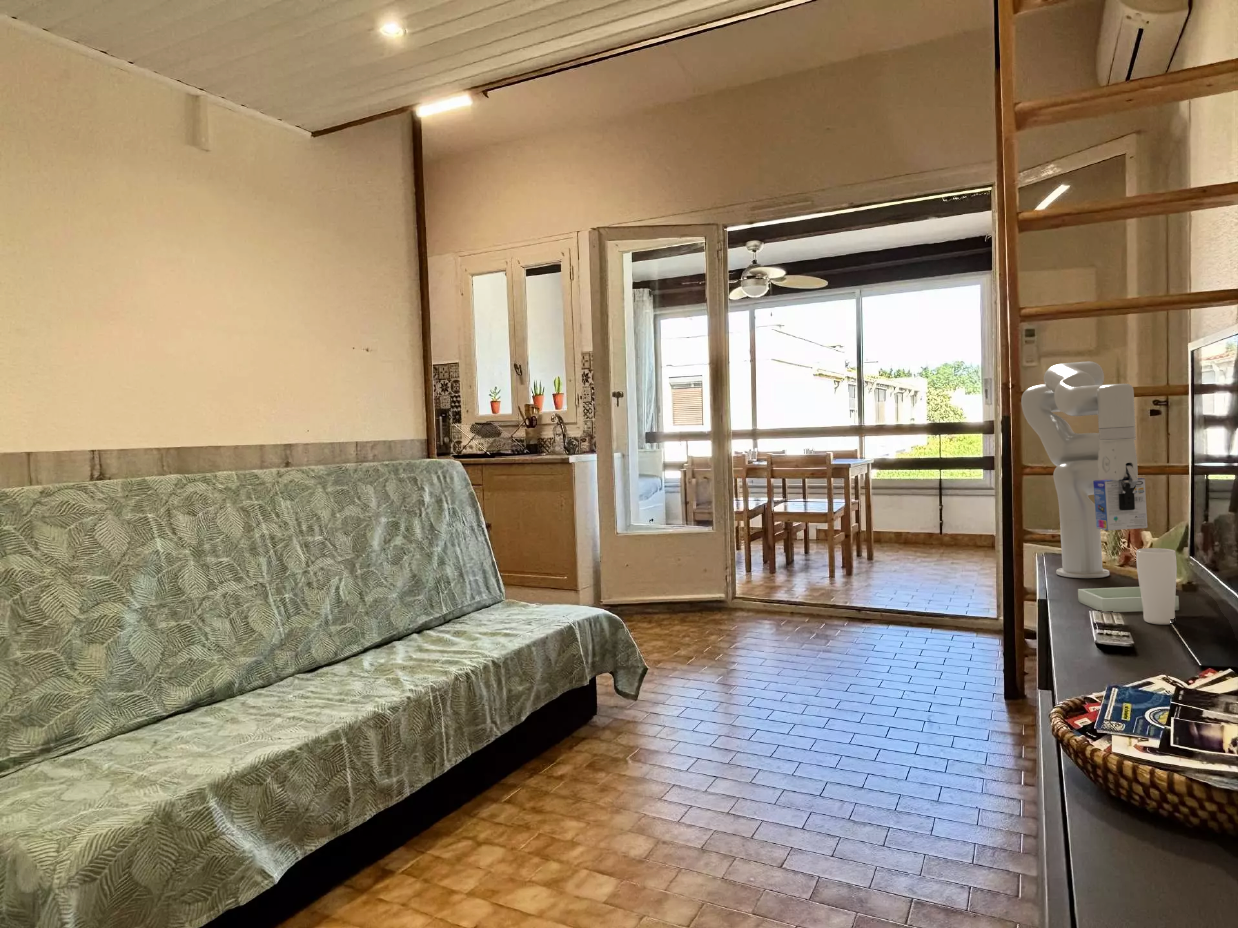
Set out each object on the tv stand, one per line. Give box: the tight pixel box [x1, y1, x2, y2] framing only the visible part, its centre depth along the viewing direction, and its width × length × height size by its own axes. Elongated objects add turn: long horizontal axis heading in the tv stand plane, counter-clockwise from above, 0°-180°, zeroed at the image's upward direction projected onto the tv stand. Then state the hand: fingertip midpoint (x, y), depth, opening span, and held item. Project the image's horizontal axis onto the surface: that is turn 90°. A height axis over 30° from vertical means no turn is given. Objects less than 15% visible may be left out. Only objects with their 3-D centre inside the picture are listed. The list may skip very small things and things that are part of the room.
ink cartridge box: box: [1093, 477, 1148, 531], centre depth 187 cm, size 10×6×14 cm, turn 89°
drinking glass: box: [1135, 547, 1178, 626], centre depth 159 cm, size 7×7×15 cm
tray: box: [1077, 586, 1180, 613], centre depth 174 cm, size 12×16×3 cm
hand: (1120, 507), depth 187 cm, fingers closed on ink cartridge box, 5 cm apart
